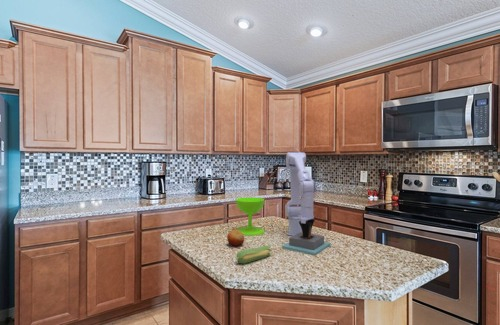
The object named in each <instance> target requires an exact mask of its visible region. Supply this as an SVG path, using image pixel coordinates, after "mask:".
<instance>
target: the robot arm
mask: <svg viewBox="0 0 500 325" xmlns="http://www.w3.org/2000/svg"><path fill="white" fill-rule="evenodd" d="M306 162H307V154H306V153H305V152H304V151H303V152H286V155H285V166H286V168H287V169H288V170H289V180H290V182H289V184H290V200H288V201H287V202H286V204H285V216H286V217H287V218H288V232H286V233H285V236H286V235H287V236H290V237H292V236H294V235H296V234H298V233H300V232H302V233H303V237H308V236H309V230H310V226H311V231H312V230H313V225H314V222H315V221H316V220H315V216H314V194H315V192H316V188H317V187H316V182H315V180H314V179H312V178H311V176H310V173H309V171H308V170H307V169H306V166H305V164H306Z"/></svg>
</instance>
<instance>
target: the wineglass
mask: <svg viewBox="0 0 500 325" xmlns="http://www.w3.org/2000/svg"><path fill="white" fill-rule="evenodd" d="M235 204H236V206H237V208H238V209H239V210H240V211H241V212H242V213H244V214H247V217H248V219H247V223H248V224H247V226H243V227H239V228H237V229H236V230H238V231H241V233H243V234H244V236H249V237H250V236H259V235H260V236H261V235H263V234H264V233H265V230H264V229H263V228H261V227H258V226H253V224H252V223H253V222H252V221H253V220H252V218H253V214H256V213H258V212H259V211H261V209H262V208H263V207H264V204H265V199H264V198H261V197H239V198H236V199H235Z"/></svg>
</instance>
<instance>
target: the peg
mask: <svg viewBox="0 0 500 325" xmlns="http://www.w3.org/2000/svg"><path fill="white" fill-rule="evenodd" d="M311 234H312V230H311V226H310V230H309V236H308V237H303V233H302V238H306V239H311Z"/></svg>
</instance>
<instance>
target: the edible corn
mask: <svg viewBox="0 0 500 325" xmlns="http://www.w3.org/2000/svg"><path fill="white" fill-rule="evenodd" d="M271 247H272V245H270V244H268V245H263V246H258V247H253V248H247V249H242V250H239V251H238V252H237V254H236V257H235V259H236V261H237V262H238V263H240V264H241V265H244V264H249V263H251V262H255V261H258V260H262V259H265V258H269V257H271V251H272V250H271V249H270V248H271Z"/></svg>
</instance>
